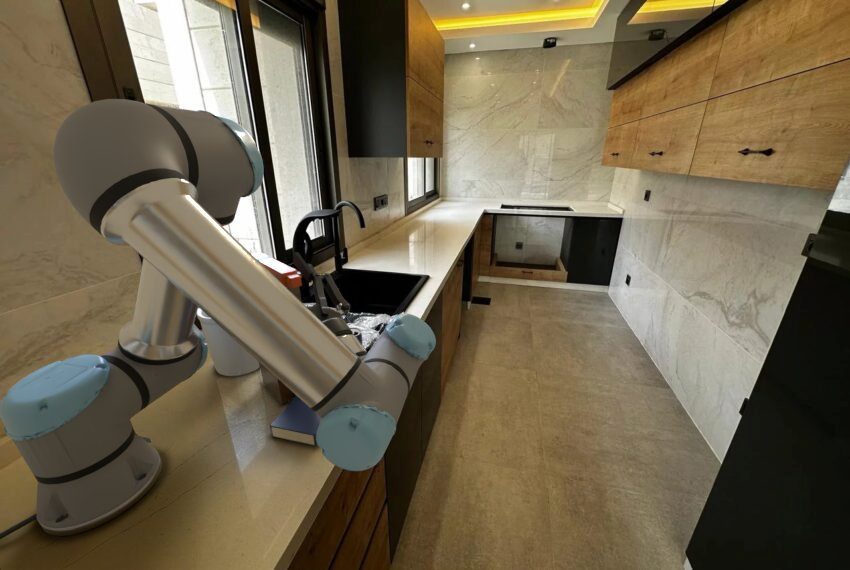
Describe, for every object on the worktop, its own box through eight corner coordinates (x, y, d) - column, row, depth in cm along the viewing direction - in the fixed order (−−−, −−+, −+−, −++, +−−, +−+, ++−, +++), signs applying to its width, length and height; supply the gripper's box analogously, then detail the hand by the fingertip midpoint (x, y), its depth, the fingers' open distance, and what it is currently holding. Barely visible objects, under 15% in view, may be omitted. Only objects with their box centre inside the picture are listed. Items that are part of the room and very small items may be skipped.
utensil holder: (249, 381, 83) (235, 320, 77) (198, 374, 86) (181, 315, 79) (282, 350, 97) (273, 296, 90) (238, 345, 99) (225, 292, 93)
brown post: (278, 406, 75) (253, 285, 64) (258, 385, 82) (234, 272, 71) (317, 386, 82) (302, 273, 71) (296, 368, 89) (279, 262, 78)
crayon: (289, 292, 61) (287, 276, 60) (249, 267, 74) (246, 254, 73) (305, 287, 63) (303, 272, 62) (263, 264, 76) (260, 252, 75)
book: (315, 446, 65) (314, 435, 63) (271, 437, 67) (269, 425, 66) (347, 399, 77) (346, 388, 76) (310, 392, 80) (308, 382, 78)
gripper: (277, 383, 53) (221, 286, 61) (375, 337, 66) (318, 263, 75) (281, 359, 48) (220, 257, 57) (386, 315, 62) (324, 238, 70)
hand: (276, 261), depth 66 cm, fingers open, 7 cm apart
